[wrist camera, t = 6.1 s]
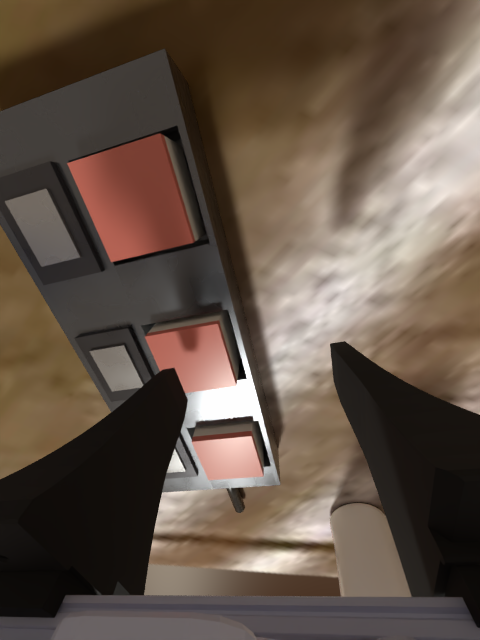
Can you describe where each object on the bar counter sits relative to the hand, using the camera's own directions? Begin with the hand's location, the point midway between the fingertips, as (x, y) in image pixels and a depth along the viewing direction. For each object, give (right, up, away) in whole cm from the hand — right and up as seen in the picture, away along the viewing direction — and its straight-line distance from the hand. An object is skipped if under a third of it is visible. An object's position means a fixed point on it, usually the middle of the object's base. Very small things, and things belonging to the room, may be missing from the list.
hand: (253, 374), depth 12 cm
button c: (-5, +8, +1) cm, 10 cm away
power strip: (-4, -2, +8) cm, 9 cm away
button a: (-1, -6, +8) cm, 10 cm away
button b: (-3, +1, +5) cm, 6 cm away
